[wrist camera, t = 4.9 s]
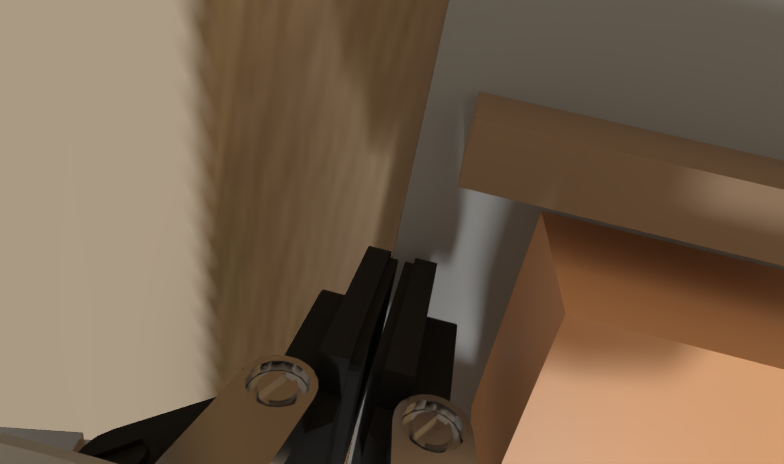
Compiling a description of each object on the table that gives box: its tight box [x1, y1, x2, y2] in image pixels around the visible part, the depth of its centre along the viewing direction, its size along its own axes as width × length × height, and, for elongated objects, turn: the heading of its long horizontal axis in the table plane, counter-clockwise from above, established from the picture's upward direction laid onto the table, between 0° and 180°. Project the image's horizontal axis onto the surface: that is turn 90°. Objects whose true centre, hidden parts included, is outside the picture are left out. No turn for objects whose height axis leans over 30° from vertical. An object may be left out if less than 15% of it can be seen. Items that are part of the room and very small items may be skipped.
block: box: [471, 211, 784, 464], centre depth 10 cm, size 6×6×4 cm
